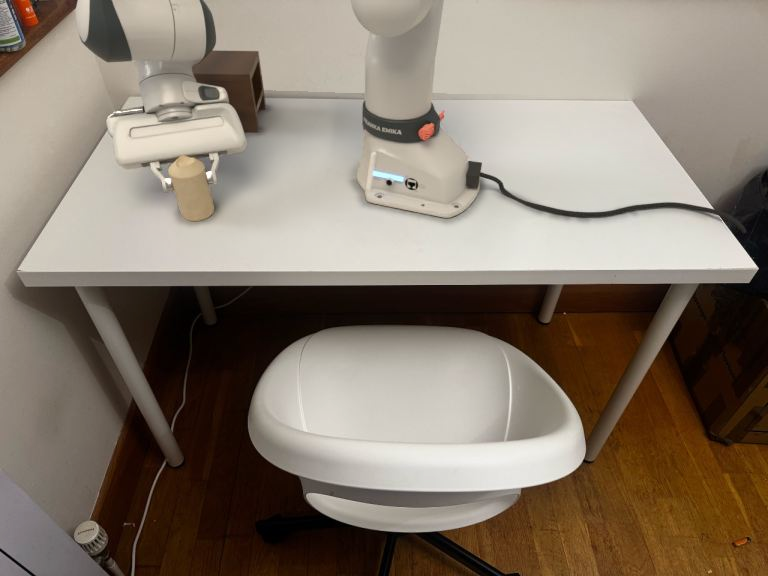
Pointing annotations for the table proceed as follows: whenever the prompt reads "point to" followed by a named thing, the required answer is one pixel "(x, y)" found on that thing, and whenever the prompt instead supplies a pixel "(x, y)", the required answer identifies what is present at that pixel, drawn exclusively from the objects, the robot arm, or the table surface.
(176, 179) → the candle
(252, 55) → the shelf
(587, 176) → the table surface
